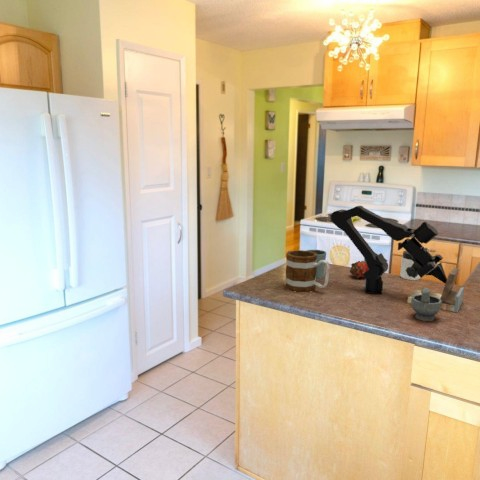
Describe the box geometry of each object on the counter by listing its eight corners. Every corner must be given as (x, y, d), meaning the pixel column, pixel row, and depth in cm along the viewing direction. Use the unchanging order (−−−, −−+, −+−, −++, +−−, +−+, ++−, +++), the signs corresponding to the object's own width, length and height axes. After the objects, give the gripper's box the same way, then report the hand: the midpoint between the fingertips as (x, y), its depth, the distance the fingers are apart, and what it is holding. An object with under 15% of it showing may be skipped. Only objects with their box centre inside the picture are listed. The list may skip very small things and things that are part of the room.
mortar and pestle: (413, 311, 158) (415, 279, 156) (441, 315, 153) (444, 283, 151) (407, 320, 148) (410, 287, 146) (437, 326, 144) (440, 292, 141)
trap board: (407, 302, 166) (407, 297, 166) (414, 294, 176) (415, 289, 176) (454, 311, 157) (454, 306, 157) (459, 302, 167) (459, 297, 167)
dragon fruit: (353, 283, 196) (361, 281, 206) (369, 275, 192) (377, 272, 202) (344, 267, 198) (352, 265, 208) (360, 258, 194) (367, 256, 204)
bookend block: (439, 300, 161) (449, 273, 157) (444, 293, 169) (453, 267, 165) (454, 305, 158) (463, 278, 155) (458, 297, 166) (467, 271, 163)
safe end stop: (454, 311, 157) (455, 296, 156) (459, 302, 167) (461, 287, 166) (457, 312, 156) (458, 296, 155) (462, 302, 167) (464, 287, 166)
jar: (412, 281, 194) (414, 255, 192) (396, 277, 201) (398, 251, 198) (424, 278, 199) (426, 252, 197) (408, 274, 206) (410, 249, 203)
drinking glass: (328, 276, 202) (329, 251, 199) (320, 281, 193) (321, 255, 191) (308, 272, 207) (309, 248, 205) (299, 278, 199) (300, 252, 196)
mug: (278, 288, 183) (279, 254, 180) (295, 281, 193) (296, 248, 190) (320, 298, 171) (321, 261, 168) (335, 290, 181) (337, 255, 178)
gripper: (407, 259, 179) (434, 288, 175) (394, 269, 164) (424, 301, 160) (428, 242, 173) (457, 272, 169) (417, 250, 158) (449, 283, 154)
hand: (446, 282), depth 163 cm, fingers closed, pressing on bookend block
